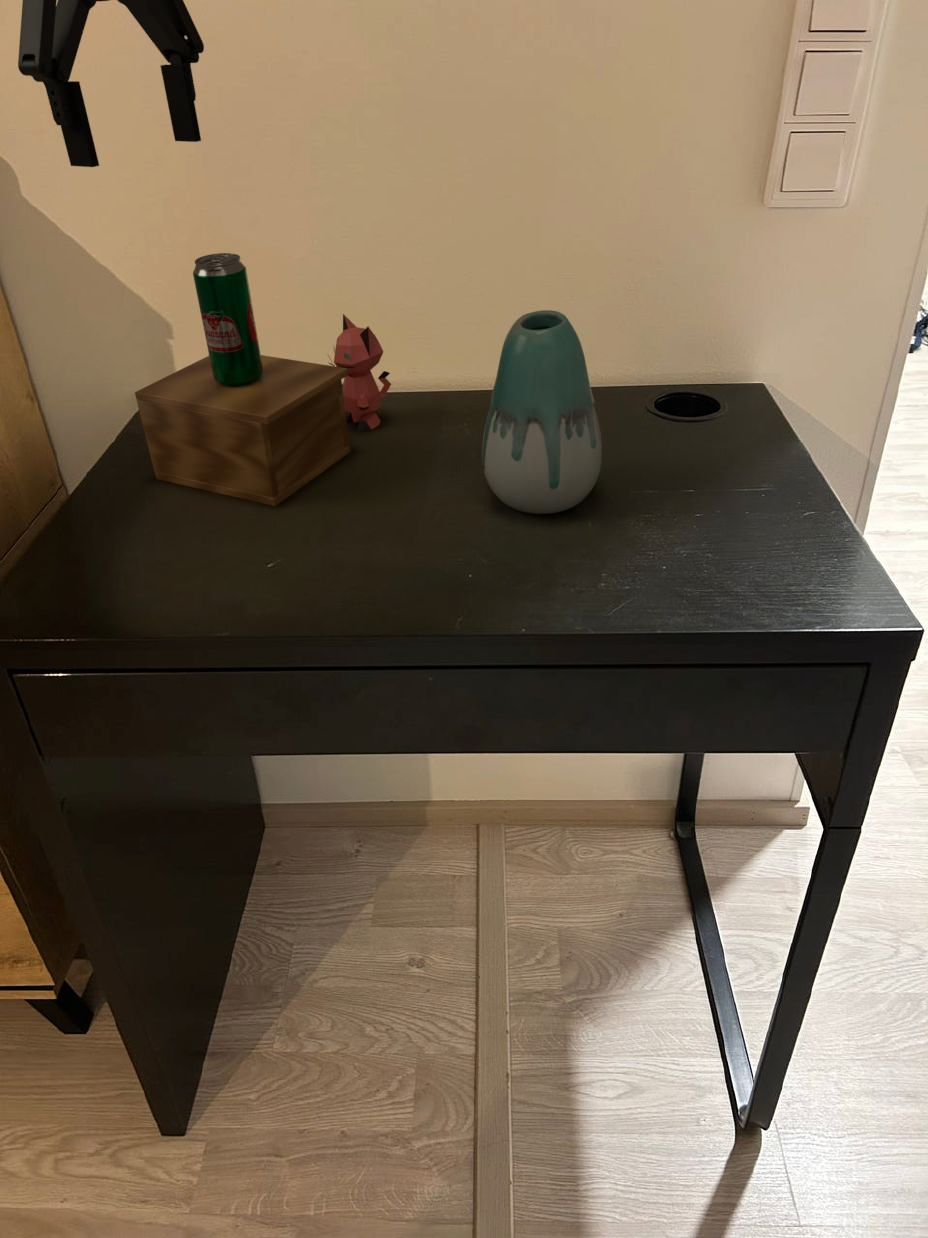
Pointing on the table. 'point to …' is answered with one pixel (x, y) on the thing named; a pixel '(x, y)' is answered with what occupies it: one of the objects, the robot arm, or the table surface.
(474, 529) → the table surface
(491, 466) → the vase
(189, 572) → the table surface
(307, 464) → the chest
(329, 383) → the chest lid
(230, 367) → the soda can
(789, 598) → the table surface
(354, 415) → the cat figurine
